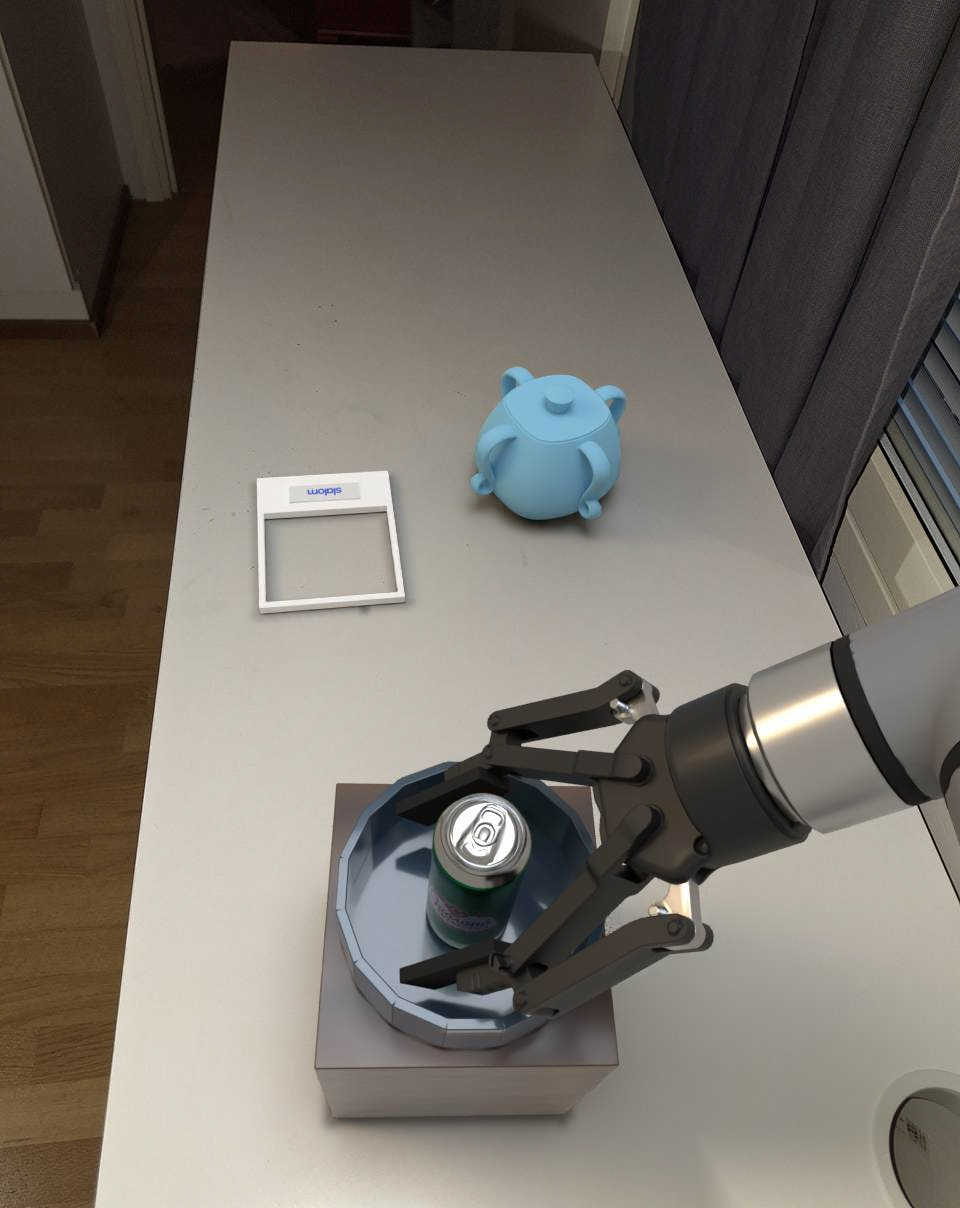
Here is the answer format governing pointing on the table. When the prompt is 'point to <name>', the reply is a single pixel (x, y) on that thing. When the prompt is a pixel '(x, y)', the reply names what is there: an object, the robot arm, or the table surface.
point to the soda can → (476, 869)
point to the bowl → (400, 922)
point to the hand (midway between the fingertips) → (414, 892)
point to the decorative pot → (550, 446)
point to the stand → (432, 1073)
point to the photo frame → (325, 499)
